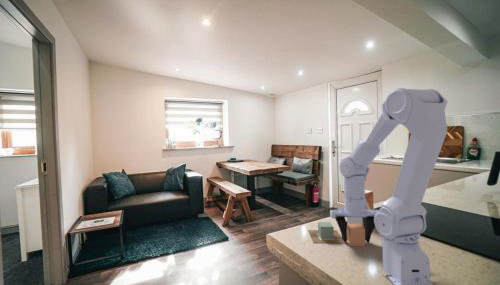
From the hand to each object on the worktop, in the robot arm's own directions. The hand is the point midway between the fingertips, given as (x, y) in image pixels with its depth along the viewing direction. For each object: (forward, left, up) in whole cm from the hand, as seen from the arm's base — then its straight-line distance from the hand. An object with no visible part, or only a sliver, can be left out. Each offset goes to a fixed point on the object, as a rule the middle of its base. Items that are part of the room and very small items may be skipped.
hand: (355, 240), depth 66 cm
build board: (+4, +8, -1) cm, 9 cm away
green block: (+4, +8, -1) cm, 9 cm away
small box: (+16, -8, -2) cm, 18 cm away
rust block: (0, 0, -2) cm, 2 cm away
